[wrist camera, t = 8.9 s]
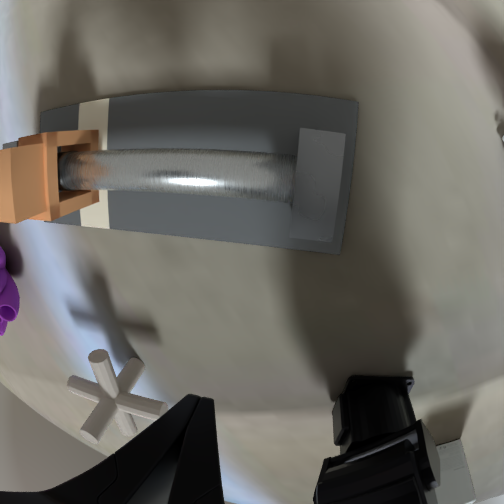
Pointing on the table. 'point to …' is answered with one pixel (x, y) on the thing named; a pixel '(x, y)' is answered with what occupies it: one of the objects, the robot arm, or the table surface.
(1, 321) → the purple tube cluster
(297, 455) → the table surface
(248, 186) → the linear slide rail
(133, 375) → the pipe connector
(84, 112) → the grey base plate
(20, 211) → the collar
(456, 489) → the skincare box
